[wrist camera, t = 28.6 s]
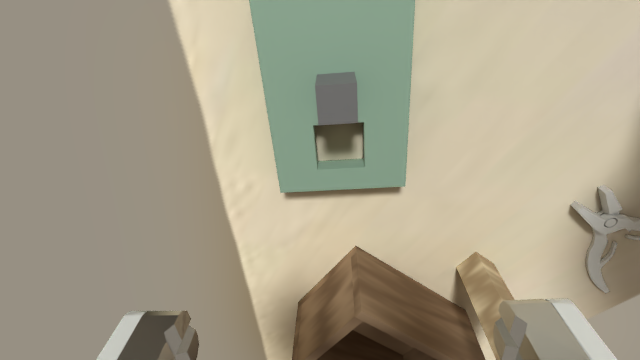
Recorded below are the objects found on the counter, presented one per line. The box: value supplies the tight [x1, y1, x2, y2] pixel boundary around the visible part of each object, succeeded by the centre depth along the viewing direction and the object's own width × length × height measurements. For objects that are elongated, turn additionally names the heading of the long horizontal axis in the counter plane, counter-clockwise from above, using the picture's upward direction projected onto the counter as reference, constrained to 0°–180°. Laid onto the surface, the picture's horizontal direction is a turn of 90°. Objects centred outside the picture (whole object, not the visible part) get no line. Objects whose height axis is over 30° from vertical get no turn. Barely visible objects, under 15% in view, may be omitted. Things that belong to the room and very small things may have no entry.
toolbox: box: [292, 246, 485, 360], centre depth 40 cm, size 12×18×9 cm, turn 55°
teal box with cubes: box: [249, 0, 415, 193], centre depth 28 cm, size 12×18×6 cm, turn 5°
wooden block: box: [456, 252, 514, 360], centre depth 34 cm, size 3×3×13 cm
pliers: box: [571, 185, 640, 293], centre depth 37 cm, size 10×2×15 cm
